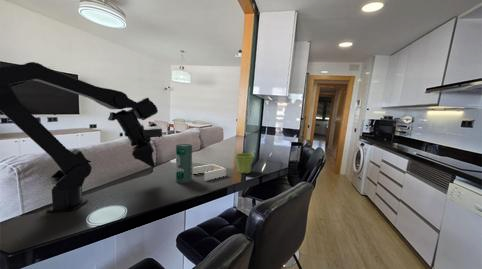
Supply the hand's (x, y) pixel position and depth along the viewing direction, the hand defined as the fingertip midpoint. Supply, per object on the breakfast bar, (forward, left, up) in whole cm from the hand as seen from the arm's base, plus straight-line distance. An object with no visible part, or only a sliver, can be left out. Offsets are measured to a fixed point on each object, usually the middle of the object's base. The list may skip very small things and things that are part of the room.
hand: (152, 161), depth 72 cm
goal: (+9, -21, -9) cm, 25 cm away
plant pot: (+14, -39, -9) cm, 42 cm away
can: (+3, -11, -9) cm, 15 cm away
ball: (+9, -26, -9) cm, 29 cm away
